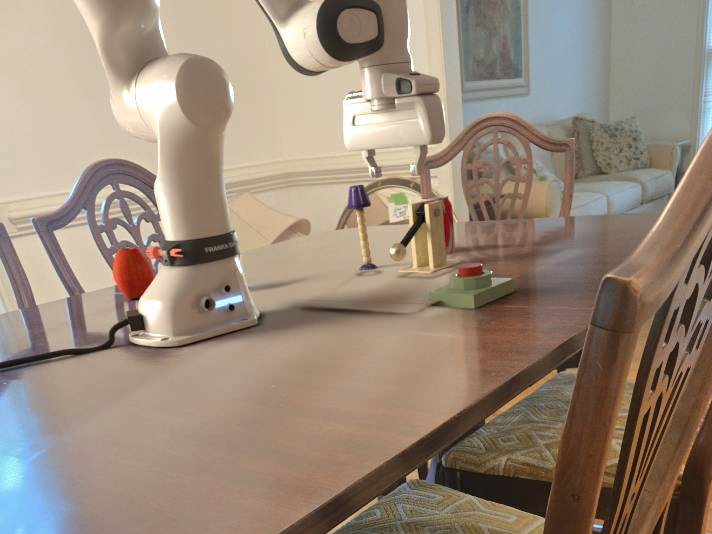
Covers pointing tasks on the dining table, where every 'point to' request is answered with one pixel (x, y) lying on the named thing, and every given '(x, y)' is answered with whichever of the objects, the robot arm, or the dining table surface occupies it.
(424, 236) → the bracket
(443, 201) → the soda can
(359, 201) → the toy lamp
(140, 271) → the apple
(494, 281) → the switch block
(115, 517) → the dining table surface
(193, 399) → the dining table surface
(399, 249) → the lever
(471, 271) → the button
